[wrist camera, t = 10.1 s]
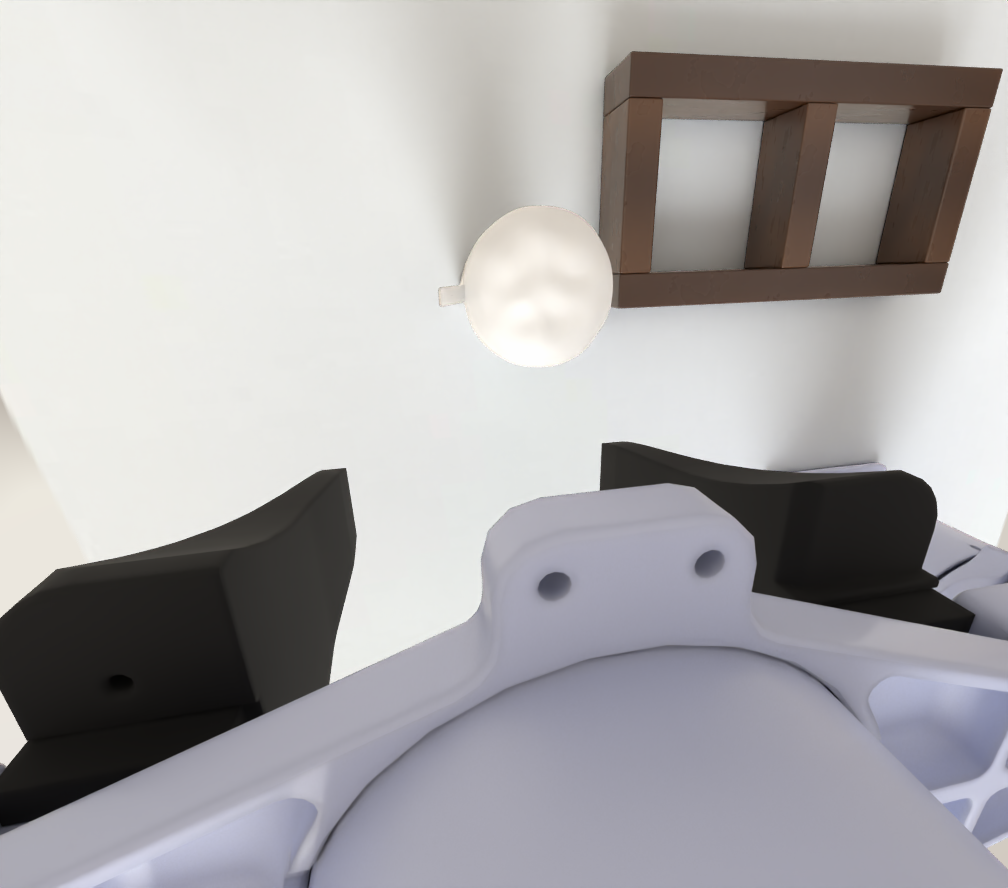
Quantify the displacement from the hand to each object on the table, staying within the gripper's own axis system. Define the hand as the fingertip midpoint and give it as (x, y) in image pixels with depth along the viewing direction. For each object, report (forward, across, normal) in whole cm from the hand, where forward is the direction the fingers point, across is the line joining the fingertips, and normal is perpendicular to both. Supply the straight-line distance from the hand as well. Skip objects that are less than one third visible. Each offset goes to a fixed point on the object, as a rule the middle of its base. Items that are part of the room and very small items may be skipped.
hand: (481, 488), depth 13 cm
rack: (+10, -16, -8) cm, 21 cm away
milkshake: (+11, -2, -5) cm, 12 cm away
